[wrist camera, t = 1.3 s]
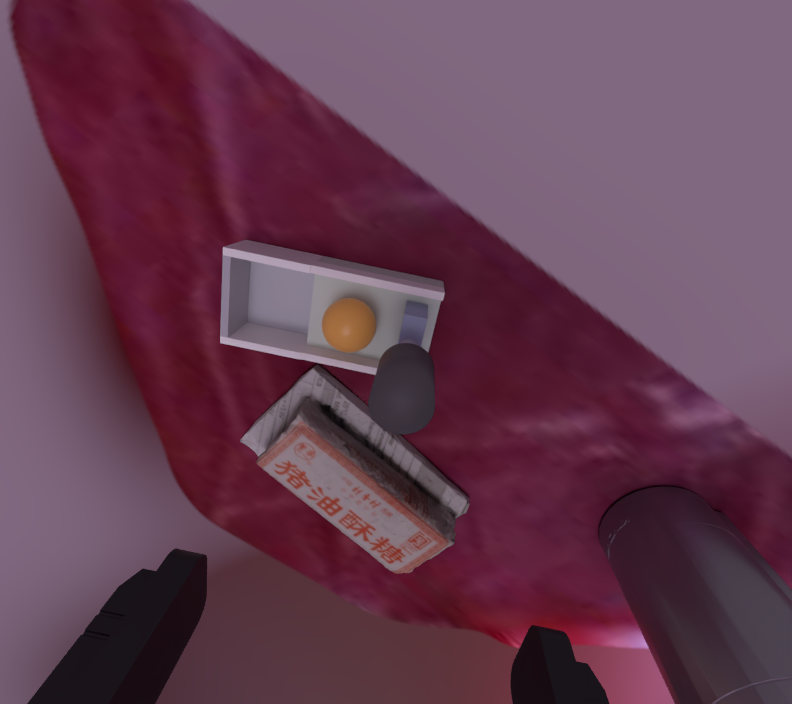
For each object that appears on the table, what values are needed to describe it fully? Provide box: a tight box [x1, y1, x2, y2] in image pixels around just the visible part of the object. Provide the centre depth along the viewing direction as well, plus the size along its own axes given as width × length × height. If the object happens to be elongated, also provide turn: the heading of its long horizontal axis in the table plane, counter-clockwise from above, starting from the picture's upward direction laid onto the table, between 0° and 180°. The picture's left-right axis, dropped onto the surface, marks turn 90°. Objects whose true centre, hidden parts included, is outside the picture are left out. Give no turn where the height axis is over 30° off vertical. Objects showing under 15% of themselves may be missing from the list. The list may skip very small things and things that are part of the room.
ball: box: [322, 298, 377, 353], centre depth 27 cm, size 4×4×4 cm
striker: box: [368, 301, 435, 434], centre depth 23 cm, size 3×4×10 cm
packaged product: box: [240, 365, 469, 574], centre depth 34 cm, size 18×5×10 cm
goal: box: [220, 240, 323, 360], centre depth 29 cm, size 6×6×4 cm
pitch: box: [300, 256, 445, 375], centre depth 29 cm, size 8×6×3 cm
